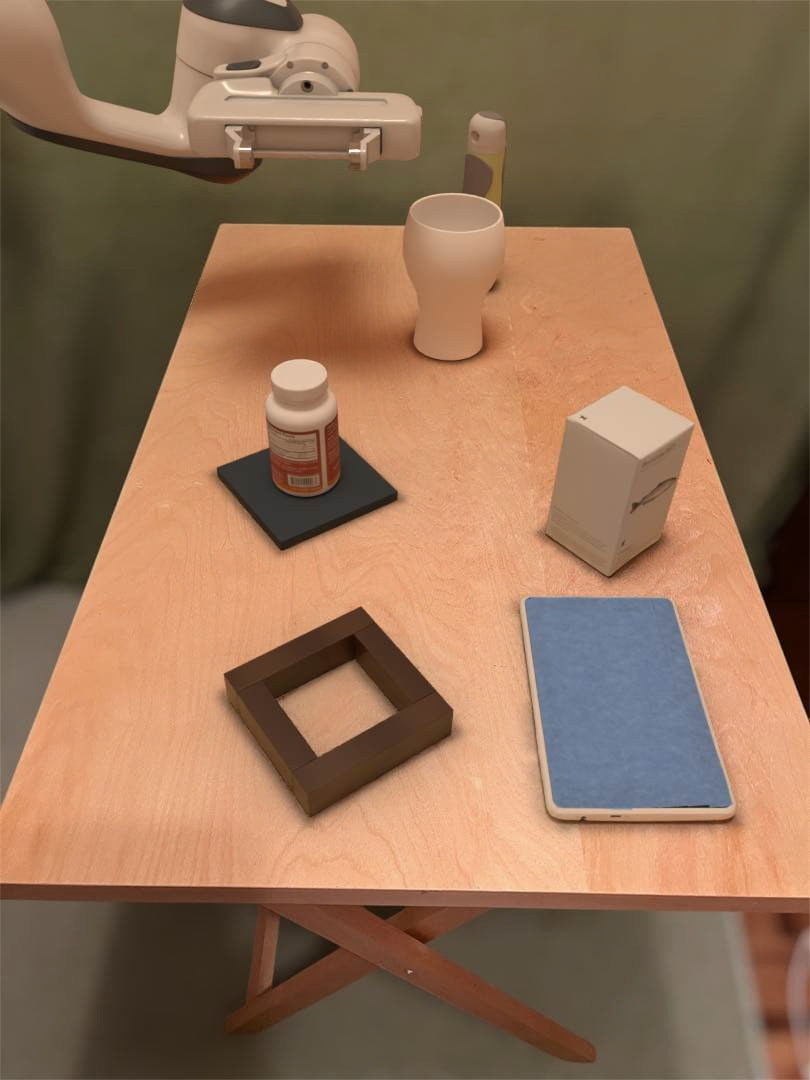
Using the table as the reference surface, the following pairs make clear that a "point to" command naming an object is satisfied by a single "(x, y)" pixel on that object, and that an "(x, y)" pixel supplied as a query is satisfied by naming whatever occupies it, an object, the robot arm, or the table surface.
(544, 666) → the tablet
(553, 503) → the white packaging box
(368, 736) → the holder
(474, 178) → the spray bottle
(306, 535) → the coaster
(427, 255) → the cup
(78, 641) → the table surface
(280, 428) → the pill bottle
